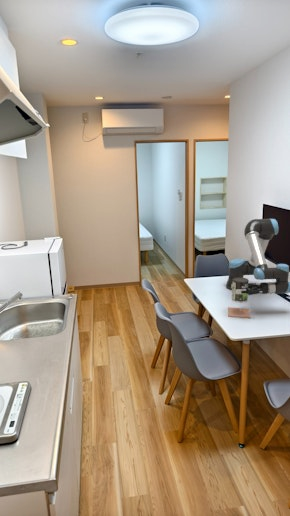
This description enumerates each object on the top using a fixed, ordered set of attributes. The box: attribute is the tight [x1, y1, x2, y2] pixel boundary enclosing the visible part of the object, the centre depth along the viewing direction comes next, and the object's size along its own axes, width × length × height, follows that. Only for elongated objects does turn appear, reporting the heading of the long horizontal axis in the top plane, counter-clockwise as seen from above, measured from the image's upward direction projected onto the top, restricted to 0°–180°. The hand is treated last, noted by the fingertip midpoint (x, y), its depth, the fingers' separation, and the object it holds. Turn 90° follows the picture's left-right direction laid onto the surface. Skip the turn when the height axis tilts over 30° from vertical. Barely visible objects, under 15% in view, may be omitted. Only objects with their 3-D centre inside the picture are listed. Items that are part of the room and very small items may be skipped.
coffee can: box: [231, 277, 250, 303], centre depth 227 cm, size 10×10×14 cm
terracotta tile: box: [227, 306, 251, 319], centre depth 231 cm, size 14×14×1 cm
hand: (233, 288), depth 227 cm, fingers closed on coffee can, 10 cm apart
